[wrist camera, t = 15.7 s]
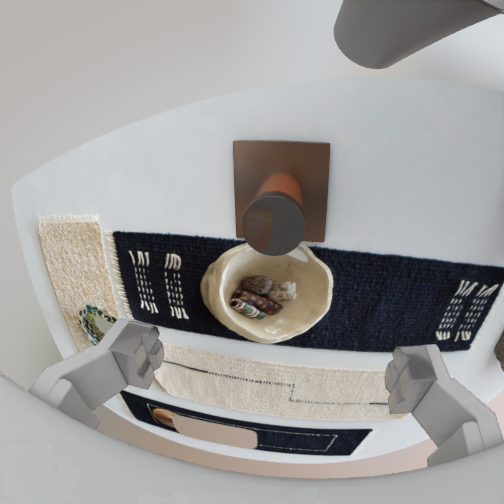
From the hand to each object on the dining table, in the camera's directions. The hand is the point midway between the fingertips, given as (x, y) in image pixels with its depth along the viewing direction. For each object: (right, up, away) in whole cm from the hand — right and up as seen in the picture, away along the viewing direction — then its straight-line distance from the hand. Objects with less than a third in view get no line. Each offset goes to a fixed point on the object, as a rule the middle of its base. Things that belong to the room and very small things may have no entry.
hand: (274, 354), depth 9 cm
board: (+2, +10, +22) cm, 24 cm away
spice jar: (+2, +9, +21) cm, 23 cm away
